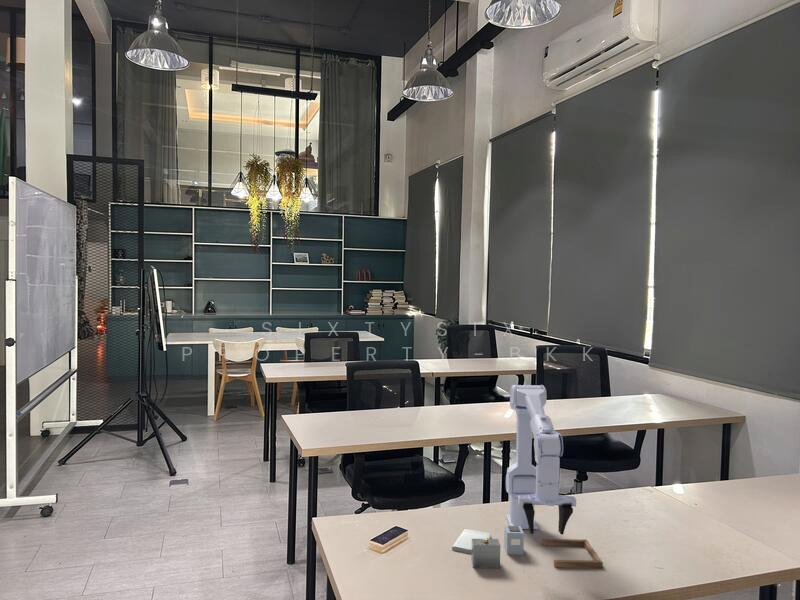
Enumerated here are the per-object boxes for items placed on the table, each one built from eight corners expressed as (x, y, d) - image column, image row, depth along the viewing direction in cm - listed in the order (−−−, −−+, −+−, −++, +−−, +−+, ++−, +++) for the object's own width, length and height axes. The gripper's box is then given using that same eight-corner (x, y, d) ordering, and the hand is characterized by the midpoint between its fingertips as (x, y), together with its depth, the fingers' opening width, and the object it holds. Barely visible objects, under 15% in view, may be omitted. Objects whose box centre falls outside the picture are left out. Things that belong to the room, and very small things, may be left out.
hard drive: (480, 551, 154) (491, 533, 165) (451, 546, 157) (464, 527, 168) (480, 557, 154) (491, 538, 165) (451, 552, 157) (464, 533, 168)
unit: (471, 560, 151) (471, 535, 151) (497, 560, 151) (497, 536, 151) (473, 567, 147) (473, 542, 147) (499, 568, 147) (500, 543, 147)
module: (503, 546, 159) (504, 524, 159) (519, 546, 159) (520, 524, 159) (507, 554, 155) (507, 532, 154) (523, 554, 155) (524, 532, 154)
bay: (542, 544, 161) (542, 538, 161) (586, 544, 161) (586, 539, 161) (554, 567, 148) (554, 561, 148) (602, 568, 148) (602, 562, 148)
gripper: (522, 485, 141) (521, 539, 142) (580, 486, 141) (579, 540, 142) (516, 475, 148) (515, 526, 149) (572, 476, 148) (570, 527, 149)
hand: (546, 532), depth 146 cm, fingers open, 7 cm apart
